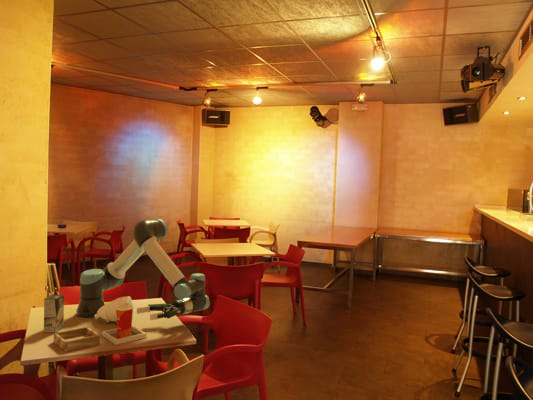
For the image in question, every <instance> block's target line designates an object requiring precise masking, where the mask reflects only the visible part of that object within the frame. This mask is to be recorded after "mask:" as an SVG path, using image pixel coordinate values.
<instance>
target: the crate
mask: <svg viewBox="0 0 533 400" xmlns="http://www.w3.org/2000/svg"><path fill="white" fill-rule="evenodd" d="M53 343H54V344H56V345H57V346H58V347H59V348H60V349H61V350H62V351H63V352H65V353H66V352H71V351H75V349H76V350H80V349H84V348H87V347H88V348H89V347H93V346H98V345H100V344H101V335H100V334H99V333H97V332H96V331H94V330H93V329H92V328H90V327H89V326H84V327H79V328H73V329H68V330H63V331H58V332H53ZM70 350H71V351H70Z"/></svg>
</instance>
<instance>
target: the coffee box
mask: <svg viewBox="0 0 533 400" xmlns="http://www.w3.org/2000/svg"><path fill="white" fill-rule="evenodd" d="M64 316H65V294H50V295H49V296H47V297H45V298H44V299H43V333H57V332H60V330H62V329H63V328H64V325H65V324H64V323H65V317H64Z"/></svg>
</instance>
